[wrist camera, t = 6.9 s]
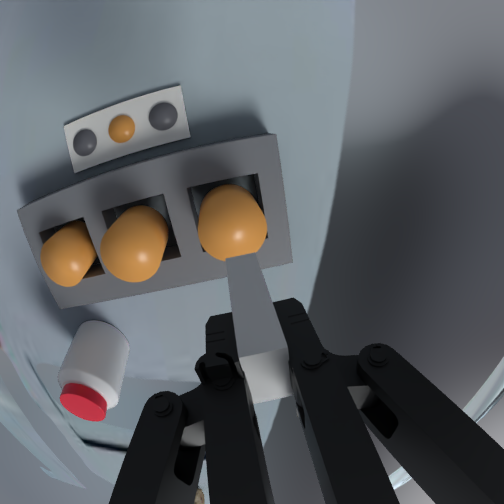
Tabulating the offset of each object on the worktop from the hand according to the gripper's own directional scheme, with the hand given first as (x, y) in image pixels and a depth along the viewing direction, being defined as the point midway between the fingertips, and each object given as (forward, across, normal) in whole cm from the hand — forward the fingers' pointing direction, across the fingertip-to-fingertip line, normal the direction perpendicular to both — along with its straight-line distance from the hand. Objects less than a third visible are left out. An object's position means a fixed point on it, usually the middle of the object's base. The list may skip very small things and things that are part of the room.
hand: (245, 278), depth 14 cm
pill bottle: (+14, -20, -14) cm, 28 cm away
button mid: (+11, -8, 0) cm, 14 cm away
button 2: (+13, -16, 0) cm, 21 cm away
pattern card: (+14, -8, +10) cm, 18 cm away
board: (+14, -8, 0) cm, 16 cm away
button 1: (+11, 0, 0) cm, 11 cm away
